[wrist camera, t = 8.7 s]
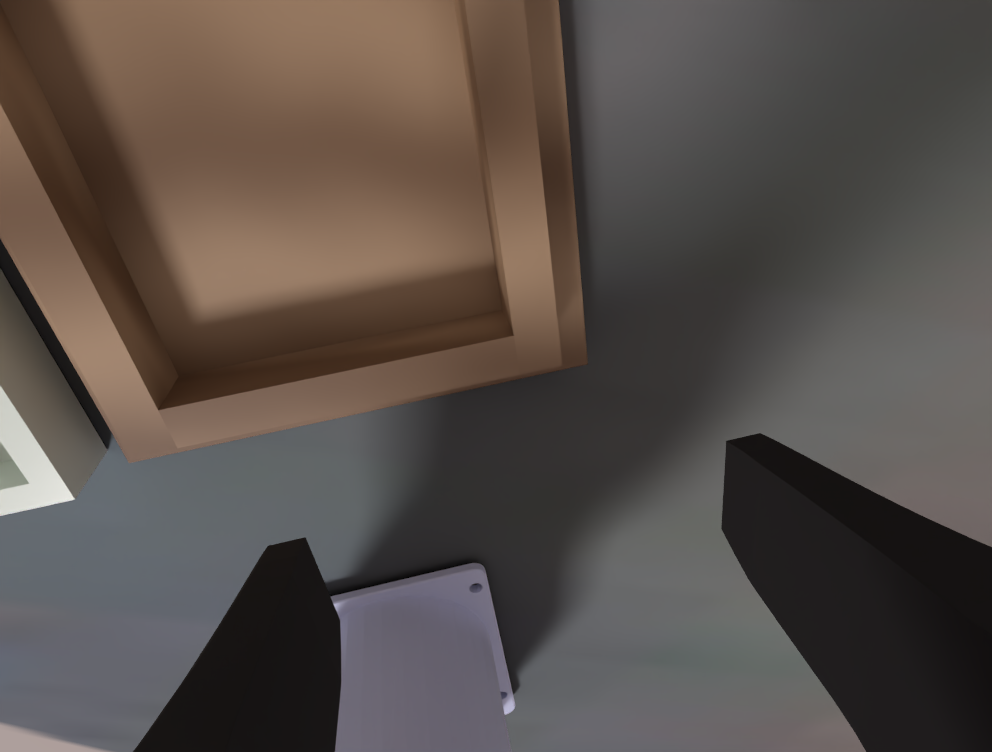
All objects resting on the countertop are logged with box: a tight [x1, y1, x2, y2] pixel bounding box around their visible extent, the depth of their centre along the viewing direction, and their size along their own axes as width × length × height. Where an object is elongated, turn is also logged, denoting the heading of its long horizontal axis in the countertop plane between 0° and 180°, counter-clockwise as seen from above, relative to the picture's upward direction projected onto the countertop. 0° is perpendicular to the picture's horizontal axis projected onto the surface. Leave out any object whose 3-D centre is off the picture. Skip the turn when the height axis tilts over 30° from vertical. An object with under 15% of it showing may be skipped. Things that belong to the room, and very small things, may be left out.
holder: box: [0, 0, 588, 463], centre depth 14 cm, size 14×14×3 cm
